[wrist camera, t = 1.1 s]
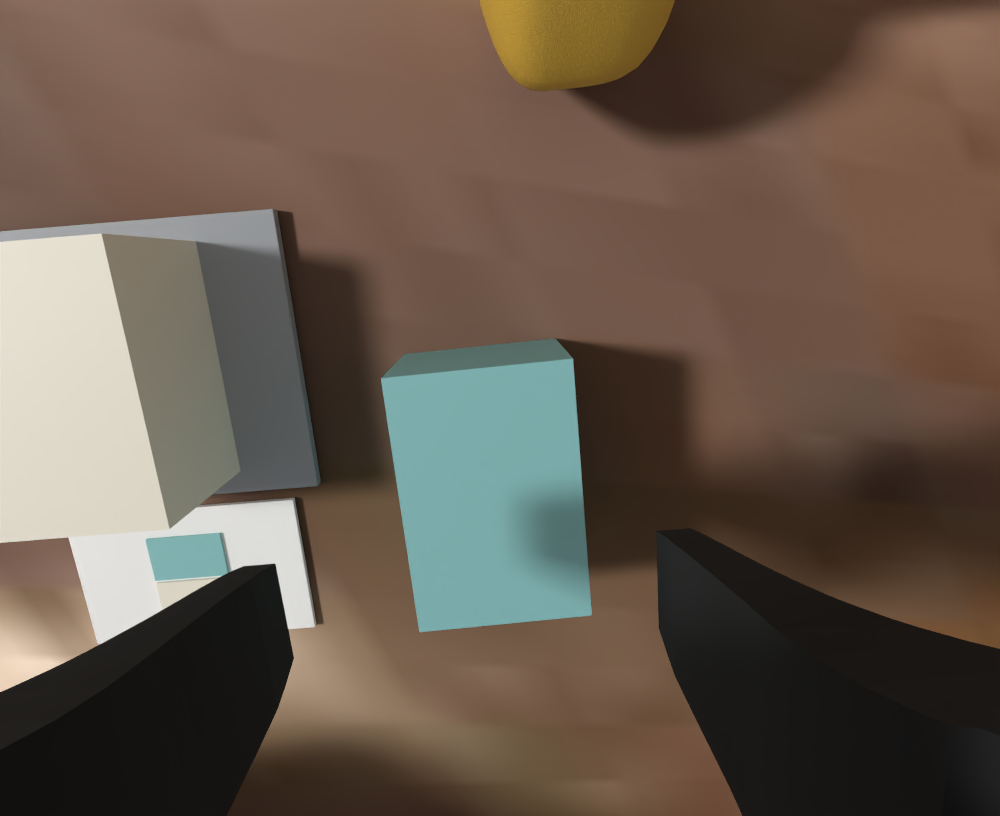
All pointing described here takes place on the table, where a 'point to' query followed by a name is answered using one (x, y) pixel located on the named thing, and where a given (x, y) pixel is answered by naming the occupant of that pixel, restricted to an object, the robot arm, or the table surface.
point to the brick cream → (107, 387)
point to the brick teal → (490, 483)
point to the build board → (242, 337)
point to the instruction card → (191, 562)
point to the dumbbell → (573, 39)
